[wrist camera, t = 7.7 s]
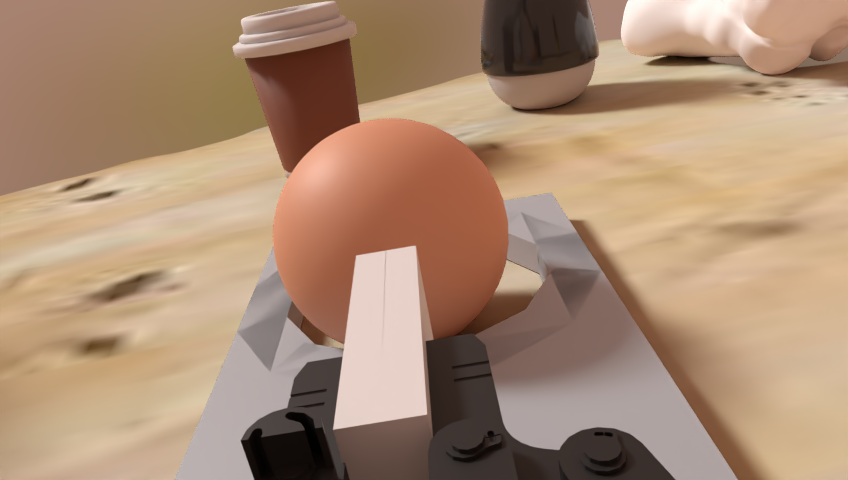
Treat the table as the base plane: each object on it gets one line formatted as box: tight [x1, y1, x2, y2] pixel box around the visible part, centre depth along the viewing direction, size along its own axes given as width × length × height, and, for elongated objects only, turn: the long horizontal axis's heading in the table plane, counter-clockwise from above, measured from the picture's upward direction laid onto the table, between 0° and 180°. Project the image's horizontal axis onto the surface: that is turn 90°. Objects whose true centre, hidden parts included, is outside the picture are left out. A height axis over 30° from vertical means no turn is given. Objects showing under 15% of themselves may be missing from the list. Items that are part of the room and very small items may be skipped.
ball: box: [273, 119, 509, 344], centre depth 26 cm, size 9×9×9 cm
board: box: [175, 193, 738, 480], centre depth 24 cm, size 27×15×2 cm, turn 2°
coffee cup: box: [233, 1, 360, 178], centre depth 51 cm, size 9×9×12 cm
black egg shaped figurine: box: [481, 0, 599, 110], centre depth 57 cm, size 10×10×15 cm
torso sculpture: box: [621, 0, 848, 75], centre depth 58 cm, size 18×10×25 cm
